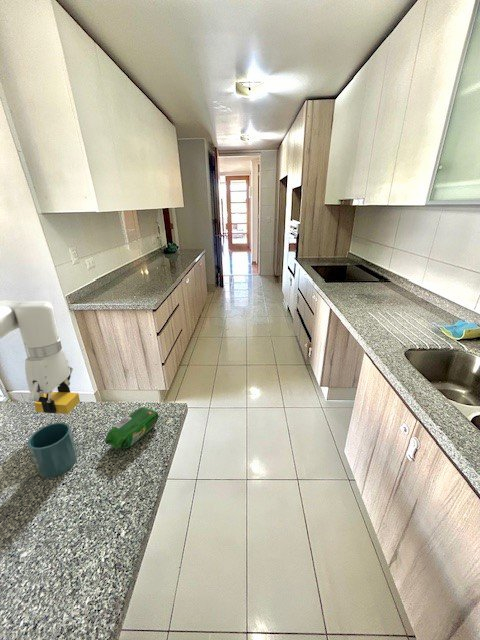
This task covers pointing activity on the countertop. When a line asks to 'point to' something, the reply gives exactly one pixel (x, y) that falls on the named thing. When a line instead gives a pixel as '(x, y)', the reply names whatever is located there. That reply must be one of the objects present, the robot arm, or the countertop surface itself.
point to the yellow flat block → (61, 402)
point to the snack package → (131, 428)
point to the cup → (53, 450)
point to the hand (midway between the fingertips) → (58, 404)
